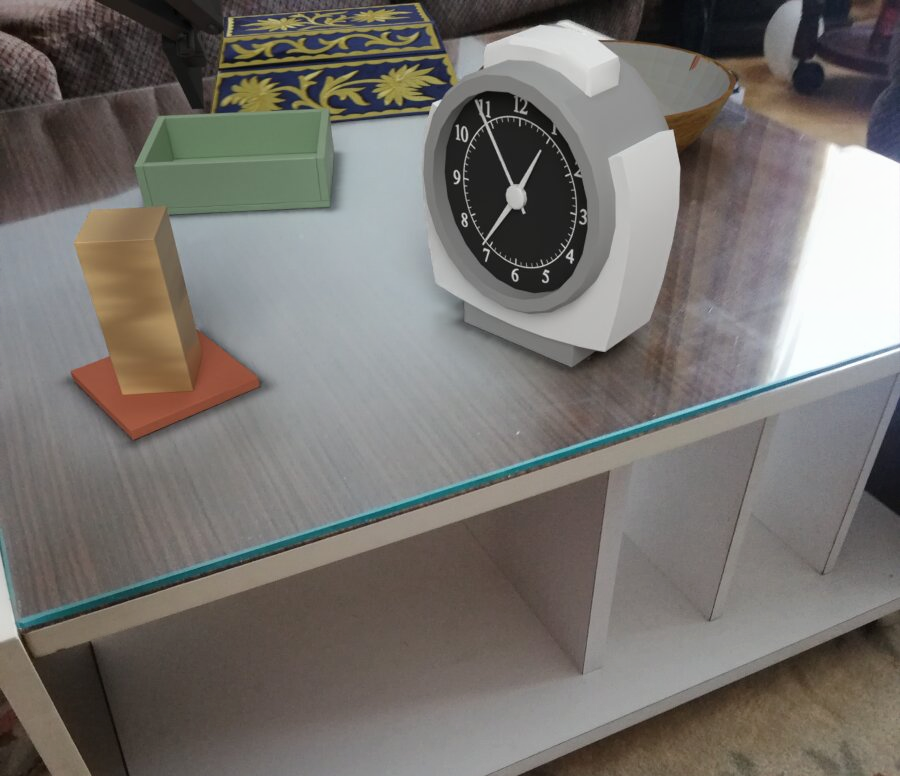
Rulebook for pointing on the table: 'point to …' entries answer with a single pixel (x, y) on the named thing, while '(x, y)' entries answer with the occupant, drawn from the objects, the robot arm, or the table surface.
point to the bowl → (679, 85)
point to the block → (140, 298)
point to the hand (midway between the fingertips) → (87, 92)
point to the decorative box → (333, 62)
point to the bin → (238, 161)
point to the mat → (157, 410)
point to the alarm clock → (551, 194)
